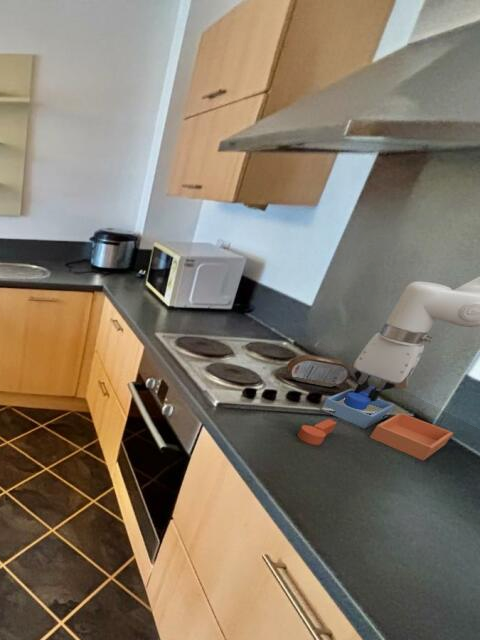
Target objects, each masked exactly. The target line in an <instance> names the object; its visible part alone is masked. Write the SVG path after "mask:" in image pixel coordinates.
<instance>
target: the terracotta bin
mask: <svg viewBox="0 0 480 640" xmlns="http://www.w3.org/2000/svg"><path fill="white" fill-rule="evenodd" d="M453 435H454V432H453V431H450V430H447V429H445V428H443V427H440V426H437V425H434V424H432V423H430V422H426V421H424V420H422V419H419V418H416V417H413V416H411V415H408V414H405V413H403V412H399V413H397V414H395V415H393V416H391V417H390V418H388V419H386V420H384V421H382V422H381V423H379V424H377V425H376V426H375V428H374V430H373V431H372V433H371V434H370V436H369V438H370V439H372V440H374V441H376V442H379V443H382V444H384V445H385V446H389V447H391V448H393V449H395V450H397V451H400V452H402V453H404V454H406V455H409V456H411V457H414V458H415V459H418V460H420V461H425V460H427V458H429V457H430V456H432V455H433V454H435V453H436V452H437V451H439V450H440V449H441V448H443V447H444V446H445V445H446V444H447V443H448V441H449V440H450V439H451V437H452V436H453Z"/></svg>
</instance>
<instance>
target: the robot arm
mask: <svg viewBox="0 0 480 640" xmlns="http://www.w3.org/2000/svg"><path fill="white" fill-rule="evenodd" d="M436 320H439V321H443V322H445V323H448V324H453V325H454V326H459V327H463V328H464V327H465V328H476V327H480V276H477V277H476V278H474V279H472V280H469V281H468V282H466V283H464V284H462V285H460V286H458V287H457V288H455V289H452V288H451V287H449V286H447V285H444V284H441V283H435V282H429V281H412V282H410V283H409V284H407V286H406V288H405V289H404V290H403V292H402V294H401V296H400V298H399V299H398V301H397V303H396V305H395V306H394V308H393V310H392V312H391V313H390V315H389V317H388V318H387V320H386V322H385V323H384V325H383V327H382V329H381V330H380V332H377V333H375V334H374V335H373V336H372V338H371V339H370V340H369V341H368V342H367V344H366V345H365V346H364V348H363V349H362V351H360V353H359V354H358V357H357V358H356V359H355V361H354V362H353V363H351V364H350V365H349V366H347V367H348V368H347V369H348V370H349V371H350V373H351V374H353V375H354V376H355V378H356V381H357V386H356V388H355V389H354V390H355V391H354V393H359V392H361V391H363V390H365V389H367V388H368V387H369V380H370V379H371V377H375V378H377V379H380V381H379V382H378V384H377V385H376V386H374V387H375V388H374V389H372V390H371V392H370V394H369V396H368V398H370V400H371V401H370V402H372V401H376V400H377V398H378V399H379V397H380V395H381V393H382V392H383V391H386V390H390V389H396V390H397V389H398V390H405V389H407V388H408V387H409V378H410V377H411V375H412V374H413V373H414V370H415V369H416V367H417V365H418V363H419V361H420V359H421V357H422V354H423V352H424V349H425V344H422V343H429V344H431V343H432V342H433V341H434V339H435V338H434V337H433V336H430V335H429V331H430V330H431V328H432V327H433V325H434V324H435V322H436Z"/></svg>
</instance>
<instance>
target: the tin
mask: <svg viewBox="0 0 480 640" xmlns="http://www.w3.org/2000/svg"><path fill="white" fill-rule="evenodd" d="M348 367H349V366H348V365H347V364H346V363H345V362H344V361H342V360H340V359H334V358H328V357H324V356H319V355H312V354H301V355H298V356H296V357H294V358H292V359H291V360H290V361H288V363H287V365H286V368H285V369H286V370H285V371H286V374H287V375H288V374H289V375H288V376H289V377H290V376H291V377H299V378H304V379H311V380H318V381H324V382H331V383H336V384H339V385H340V386H342V385H343V384H345V383H346V382H347V381H348V379H349V378H350V375H351V372H350V371H349V370H348V369H347V368H348ZM291 377H290V378H291Z"/></svg>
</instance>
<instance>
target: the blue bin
mask: <svg viewBox="0 0 480 640" xmlns="http://www.w3.org/2000/svg"><path fill="white" fill-rule="evenodd" d="M354 391H355V389H354V388H348V389H346V390H343V391H341V392H339V393H336V394H334V395H331V396H329V397H327V398H326V399H325V401H324V403H323V404H322V406H326V407H328V408H331V409H333V410H335V411H336V412H335V414H334V413H332V412H329V411H327V410H324V409H321V408H320V411H322V412H324V413H327V414H329V415H332V416H334V417H336V418H339V419H341V420H343V421H346V422H348V423H350V424H352V425H355V426H358V427H360V428H363V429H367V428H369V427H370V426H373V425H374V424H376V423H378V422H380V421H382V420H383V419H385V418H388V416H385V417H384V418H383V416H384V415H385V414H387V413H389V412H390V411H391V412H392V410H393V409H394V408H395V406H396V404H394V403H392V402H389V401H385V400H384V399H383V400H382V399H380V398H379V397H378V398H377V400H376V401H372V402H370V403H369V404H370V405H373V406H376V407H379V408H382V409H381V410H379V411H377V412H375V413H373V414H371V415H369V414H366V413H364V412H361V411H359V410H356V409H354V408H351V407H349V406H346V405H344V404H341V403H339V402H337V401H340V400H342V399H344V398H346V396H347V394H348V393H354ZM391 412H390V413H391Z"/></svg>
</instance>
